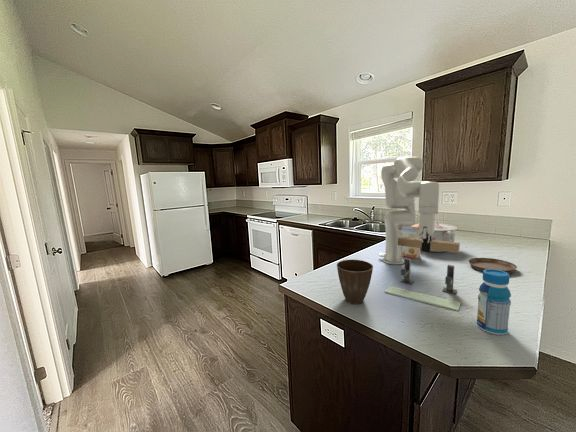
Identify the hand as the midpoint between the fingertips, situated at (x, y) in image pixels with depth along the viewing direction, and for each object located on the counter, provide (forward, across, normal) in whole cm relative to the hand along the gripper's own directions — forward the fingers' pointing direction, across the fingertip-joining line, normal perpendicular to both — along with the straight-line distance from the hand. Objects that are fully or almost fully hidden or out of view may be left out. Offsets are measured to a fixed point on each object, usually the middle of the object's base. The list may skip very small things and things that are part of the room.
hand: (426, 249), depth 111 cm
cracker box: (+20, -49, -20) cm, 56 cm away
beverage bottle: (+19, +20, +24) cm, 36 cm away
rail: (-1, 0, 0) cm, 1 cm away
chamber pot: (+20, -73, -8) cm, 76 cm away
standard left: (+19, -2, -9) cm, 21 cm away
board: (+19, +9, 0) cm, 21 cm away
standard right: (+19, -2, +9) cm, 21 cm away
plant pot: (+19, +27, -22) cm, 40 cm away
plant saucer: (+20, -48, +24) cm, 57 cm away
